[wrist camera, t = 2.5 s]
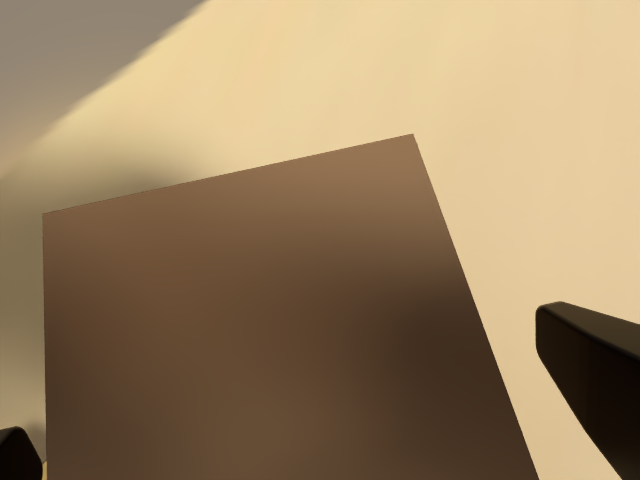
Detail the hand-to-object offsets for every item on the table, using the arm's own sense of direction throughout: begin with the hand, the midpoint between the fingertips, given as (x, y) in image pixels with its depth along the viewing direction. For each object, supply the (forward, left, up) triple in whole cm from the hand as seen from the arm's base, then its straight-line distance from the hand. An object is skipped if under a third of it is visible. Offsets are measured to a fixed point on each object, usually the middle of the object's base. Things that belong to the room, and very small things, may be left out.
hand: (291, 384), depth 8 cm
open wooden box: (0, 0, -9) cm, 9 cm away
